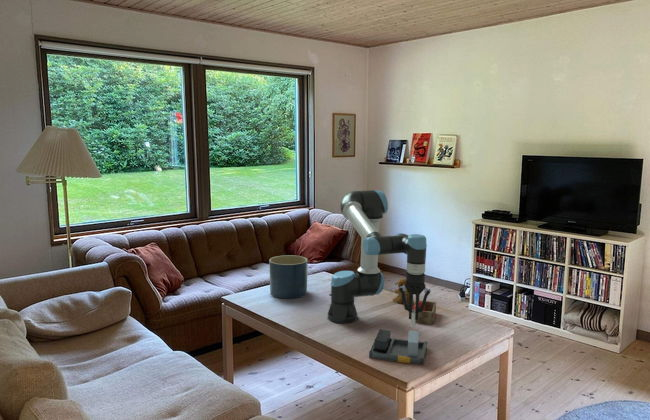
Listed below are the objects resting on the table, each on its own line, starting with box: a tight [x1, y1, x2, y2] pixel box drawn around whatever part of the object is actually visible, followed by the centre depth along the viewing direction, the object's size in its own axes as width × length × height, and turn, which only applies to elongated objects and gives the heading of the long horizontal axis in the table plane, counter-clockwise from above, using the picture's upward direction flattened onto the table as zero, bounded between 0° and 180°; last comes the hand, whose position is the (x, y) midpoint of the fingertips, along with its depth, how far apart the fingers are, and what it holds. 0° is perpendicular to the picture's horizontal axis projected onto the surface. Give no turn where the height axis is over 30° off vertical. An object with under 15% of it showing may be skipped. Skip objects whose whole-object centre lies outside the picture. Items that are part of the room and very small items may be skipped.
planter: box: [268, 254, 309, 300], centre depth 286 cm, size 22×22×20 cm
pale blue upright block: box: [407, 330, 420, 357], centre depth 207 cm, size 4×12×7 cm, turn 168°
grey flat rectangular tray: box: [368, 328, 428, 366], centre depth 208 cm, size 22×18×7 cm
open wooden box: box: [414, 299, 437, 325], centre depth 250 cm, size 9×16×6 cm, turn 164°
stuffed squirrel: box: [392, 278, 415, 306], centre depth 271 cm, size 10×14×13 cm
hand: (413, 326), depth 206 cm, fingers closed
